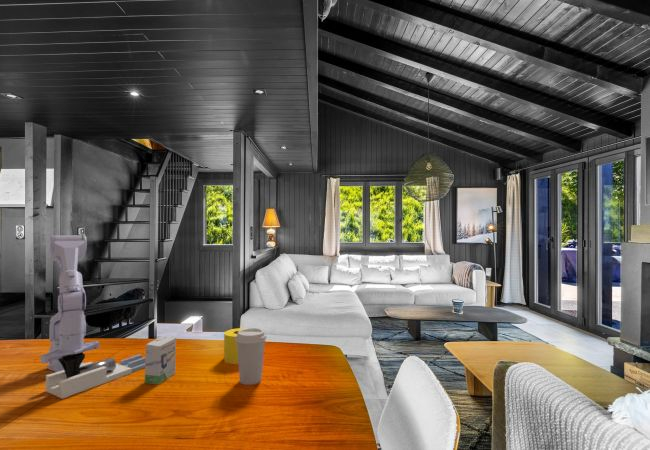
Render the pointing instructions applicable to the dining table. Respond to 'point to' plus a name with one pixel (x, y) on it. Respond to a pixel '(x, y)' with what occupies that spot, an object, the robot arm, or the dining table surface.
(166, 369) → the ink box
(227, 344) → the yellow cylinder
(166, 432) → the dining table surface
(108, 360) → the axle
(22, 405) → the dining table surface
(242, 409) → the dining table surface
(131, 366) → the cradle
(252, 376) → the coffee cup
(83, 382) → the white channel tray
